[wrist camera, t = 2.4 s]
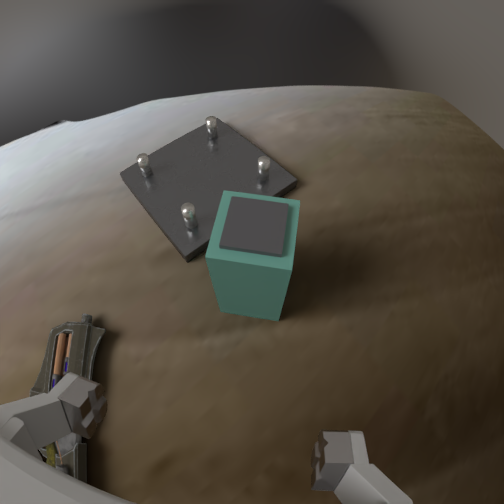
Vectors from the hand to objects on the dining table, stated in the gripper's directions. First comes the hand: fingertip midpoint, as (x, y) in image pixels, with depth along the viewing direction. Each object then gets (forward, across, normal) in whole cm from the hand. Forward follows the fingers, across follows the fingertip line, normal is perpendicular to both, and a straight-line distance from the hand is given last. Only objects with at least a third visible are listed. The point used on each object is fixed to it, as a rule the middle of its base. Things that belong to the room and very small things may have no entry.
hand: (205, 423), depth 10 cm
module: (+18, 0, +2) cm, 18 cm away
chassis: (+26, +7, -6) cm, 28 cm away
